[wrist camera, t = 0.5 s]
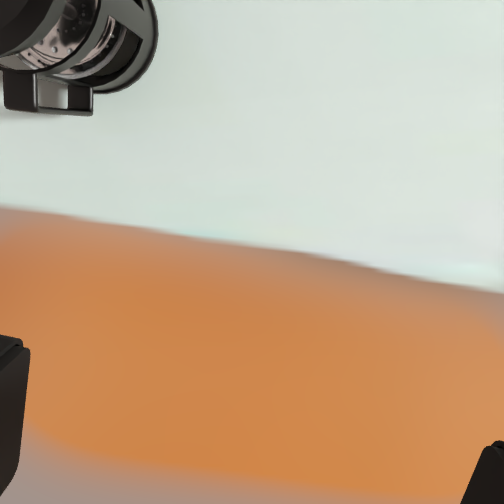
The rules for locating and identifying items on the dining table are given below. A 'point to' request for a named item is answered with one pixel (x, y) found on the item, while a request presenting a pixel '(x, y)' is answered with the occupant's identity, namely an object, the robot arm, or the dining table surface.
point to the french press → (72, 48)
